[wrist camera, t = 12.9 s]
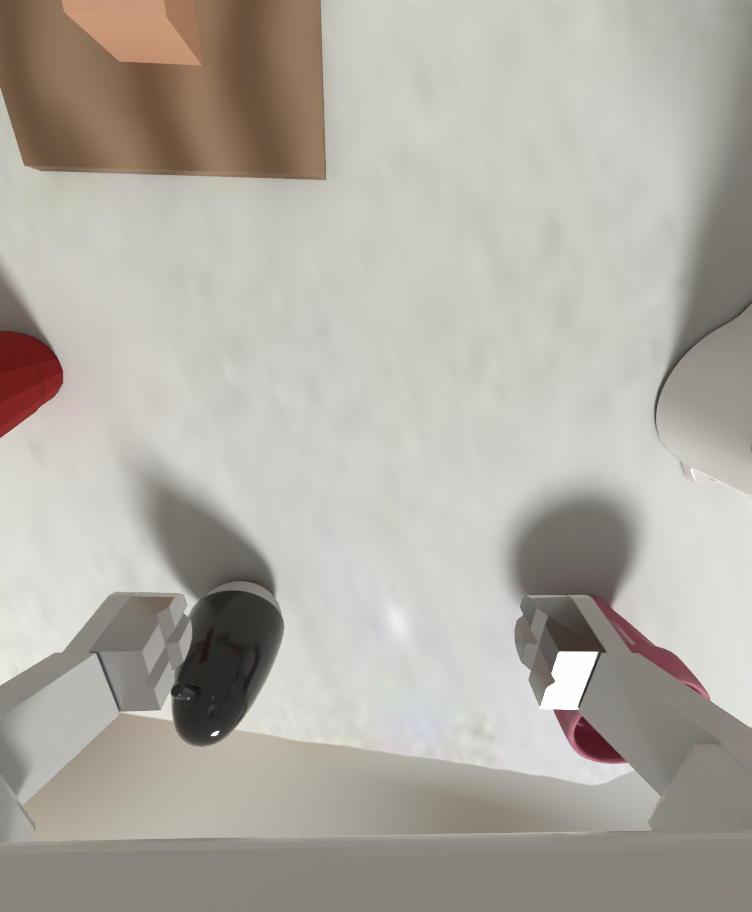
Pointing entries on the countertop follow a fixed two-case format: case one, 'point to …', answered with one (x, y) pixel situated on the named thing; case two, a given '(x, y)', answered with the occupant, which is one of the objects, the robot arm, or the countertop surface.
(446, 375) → the countertop surface
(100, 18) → the cube
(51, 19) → the walnut board
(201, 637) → the black glossy tall piece
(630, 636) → the plant pot
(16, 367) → the plastic cup
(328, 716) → the countertop surface
